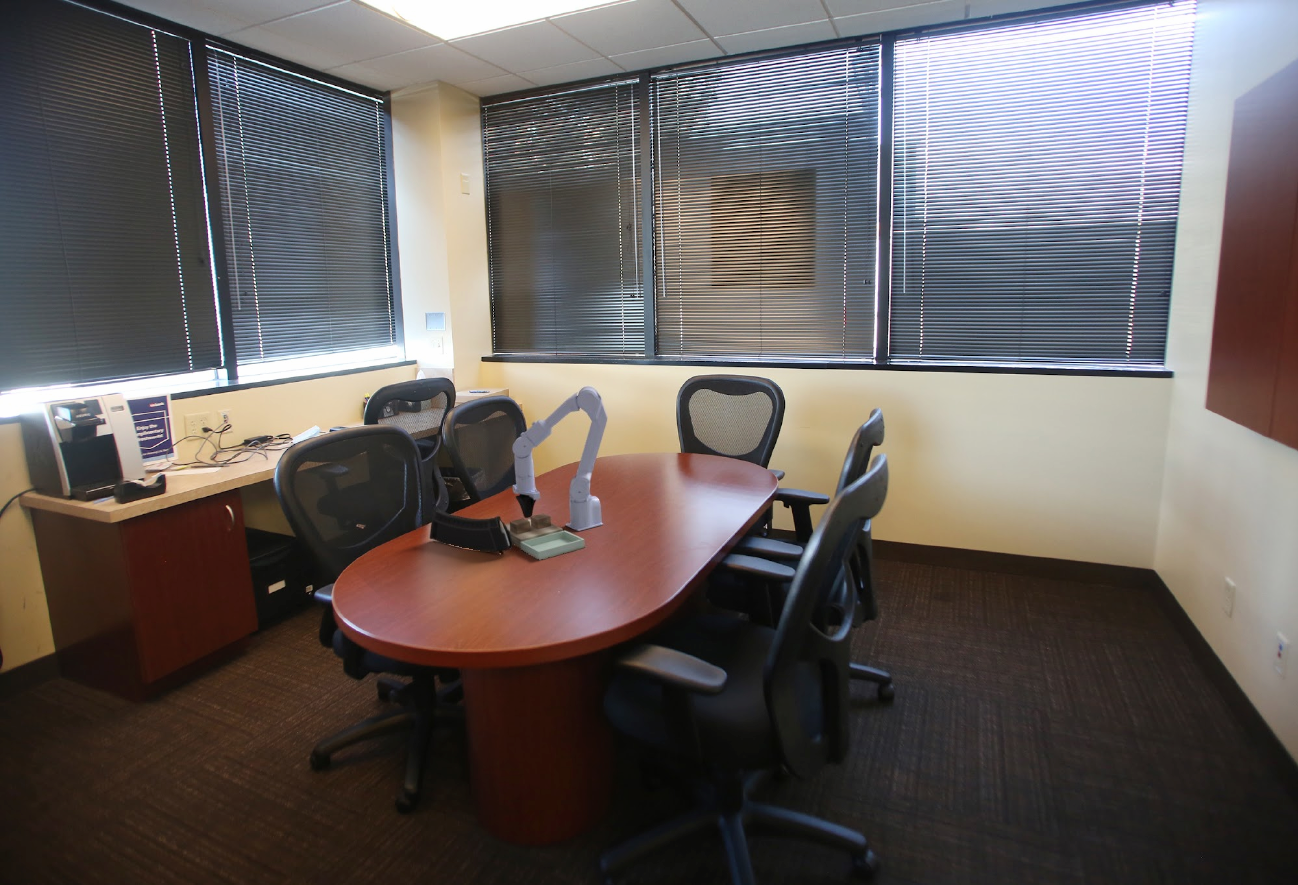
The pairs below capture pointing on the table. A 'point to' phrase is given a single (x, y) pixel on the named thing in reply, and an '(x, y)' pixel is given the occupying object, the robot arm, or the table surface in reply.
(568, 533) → the box
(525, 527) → the walnut block
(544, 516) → the walnut block
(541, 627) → the table surface
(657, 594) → the table surface
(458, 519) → the magazine
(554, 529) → the maple board
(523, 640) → the table surface
